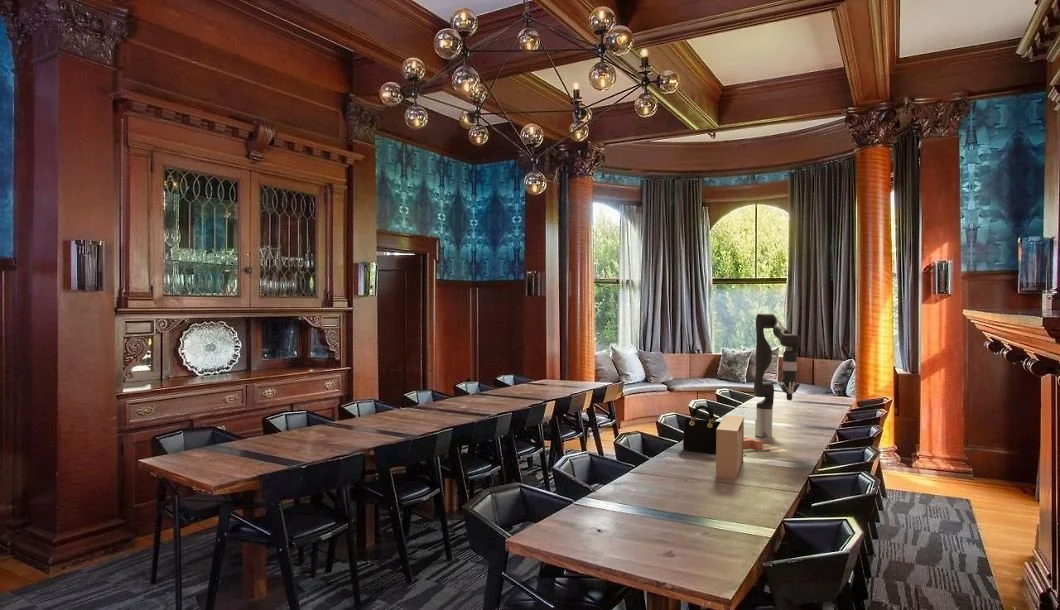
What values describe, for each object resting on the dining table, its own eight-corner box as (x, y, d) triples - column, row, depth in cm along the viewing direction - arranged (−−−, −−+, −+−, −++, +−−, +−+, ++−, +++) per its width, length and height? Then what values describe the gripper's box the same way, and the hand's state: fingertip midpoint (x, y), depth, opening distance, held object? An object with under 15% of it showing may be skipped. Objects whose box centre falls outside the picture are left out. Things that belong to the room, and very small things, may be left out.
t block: (731, 446, 356) (731, 437, 356) (748, 445, 359) (748, 436, 359) (745, 451, 344) (745, 442, 344) (762, 450, 348) (762, 441, 348)
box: (744, 460, 331) (745, 416, 331) (738, 479, 294) (738, 431, 294) (724, 458, 335) (725, 415, 335) (715, 477, 298) (716, 429, 298)
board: (718, 446, 361) (718, 442, 361) (759, 443, 370) (759, 439, 370) (746, 456, 338) (746, 452, 338) (788, 453, 347) (788, 449, 347)
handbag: (723, 452, 348) (723, 406, 348) (718, 455, 341) (719, 408, 340) (686, 447, 359) (686, 402, 359) (681, 450, 352) (681, 405, 352)
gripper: (794, 368, 365) (793, 398, 365) (775, 369, 361) (775, 399, 361) (804, 369, 358) (803, 400, 358) (784, 370, 354) (784, 401, 354)
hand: (789, 400), depth 360 cm, fingers closed
